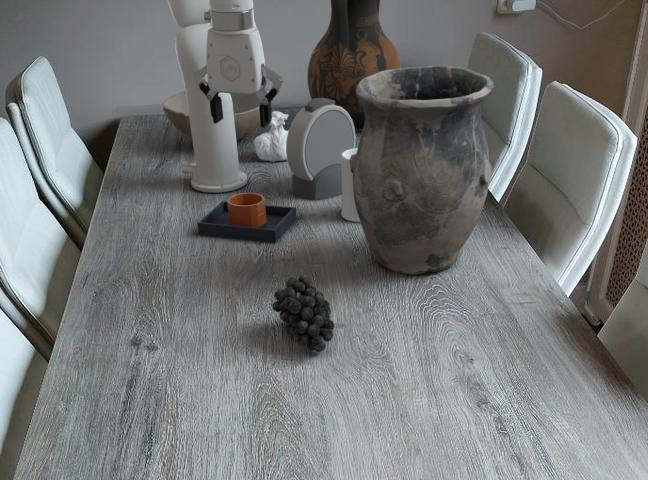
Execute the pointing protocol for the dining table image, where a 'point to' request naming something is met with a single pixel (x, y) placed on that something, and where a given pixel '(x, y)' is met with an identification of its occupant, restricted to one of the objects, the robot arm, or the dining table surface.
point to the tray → (269, 232)
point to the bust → (273, 140)
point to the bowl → (242, 108)
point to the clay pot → (421, 164)
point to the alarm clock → (319, 148)
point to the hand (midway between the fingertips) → (241, 123)
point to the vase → (350, 55)
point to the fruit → (305, 313)
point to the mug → (348, 188)
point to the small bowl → (247, 210)
